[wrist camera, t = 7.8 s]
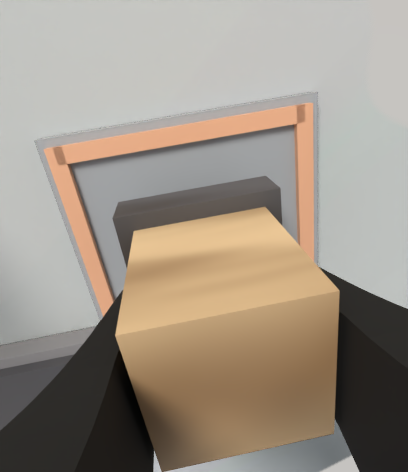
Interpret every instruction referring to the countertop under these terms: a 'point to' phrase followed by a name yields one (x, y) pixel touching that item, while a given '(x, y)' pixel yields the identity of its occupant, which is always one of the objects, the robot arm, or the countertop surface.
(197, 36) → the countertop surface
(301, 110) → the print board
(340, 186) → the countertop surface
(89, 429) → the robot arm
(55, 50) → the countertop surface
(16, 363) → the pad
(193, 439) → the stamp
